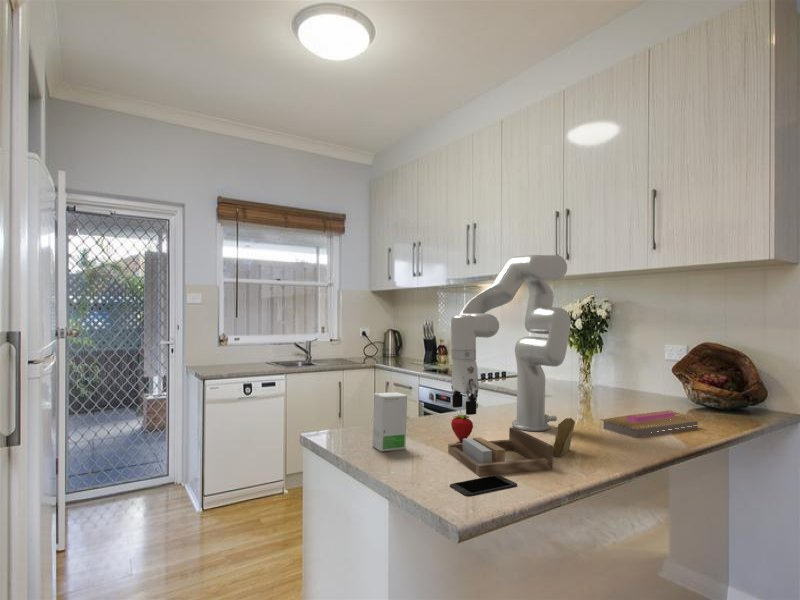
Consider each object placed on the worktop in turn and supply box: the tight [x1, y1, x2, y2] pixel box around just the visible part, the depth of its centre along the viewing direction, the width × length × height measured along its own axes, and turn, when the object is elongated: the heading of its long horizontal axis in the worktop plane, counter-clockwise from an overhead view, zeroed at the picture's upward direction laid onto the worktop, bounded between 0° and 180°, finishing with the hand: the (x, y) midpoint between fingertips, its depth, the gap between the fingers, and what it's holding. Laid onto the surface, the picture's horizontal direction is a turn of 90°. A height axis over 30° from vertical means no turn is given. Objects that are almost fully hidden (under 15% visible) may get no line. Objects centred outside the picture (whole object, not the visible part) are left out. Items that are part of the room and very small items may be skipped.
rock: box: [552, 417, 576, 458], centre depth 135 cm, size 11×9×10 cm
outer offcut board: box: [462, 437, 492, 464], centre depth 124 cm, size 2×12×5 cm, turn 17°
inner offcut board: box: [472, 436, 506, 463], centre depth 125 cm, size 2×12×5 cm, turn 21°
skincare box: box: [372, 391, 408, 453], centre depth 136 cm, size 8×7×16 cm
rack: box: [447, 426, 554, 477], centre depth 126 cm, size 21×19×6 cm
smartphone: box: [449, 474, 518, 497], centre depth 108 cm, size 7×15×1 cm, turn 118°
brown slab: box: [600, 410, 702, 439], centre depth 165 cm, size 35×14×6 cm, turn 117°
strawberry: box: [450, 410, 474, 443], centre depth 142 cm, size 6×8×10 cm
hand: (464, 410), depth 143 cm, fingers open, 9 cm apart
